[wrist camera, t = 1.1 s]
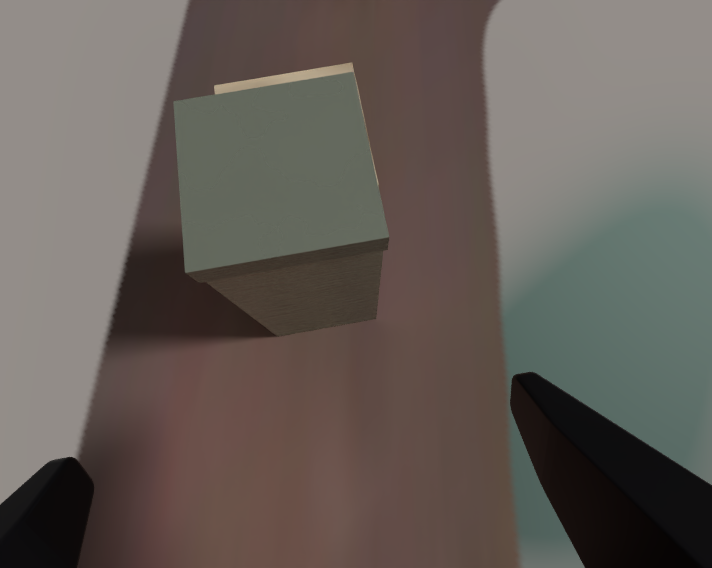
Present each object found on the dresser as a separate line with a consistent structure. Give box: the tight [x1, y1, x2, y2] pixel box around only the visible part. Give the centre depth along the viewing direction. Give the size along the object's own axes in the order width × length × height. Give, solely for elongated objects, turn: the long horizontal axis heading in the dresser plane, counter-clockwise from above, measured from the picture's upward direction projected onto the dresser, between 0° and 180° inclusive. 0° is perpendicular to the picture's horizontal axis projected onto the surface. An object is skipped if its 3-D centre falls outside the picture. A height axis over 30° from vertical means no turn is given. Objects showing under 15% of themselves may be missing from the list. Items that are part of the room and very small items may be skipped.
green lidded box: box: [174, 72, 389, 337], centre depth 18 cm, size 6×6×12 cm
